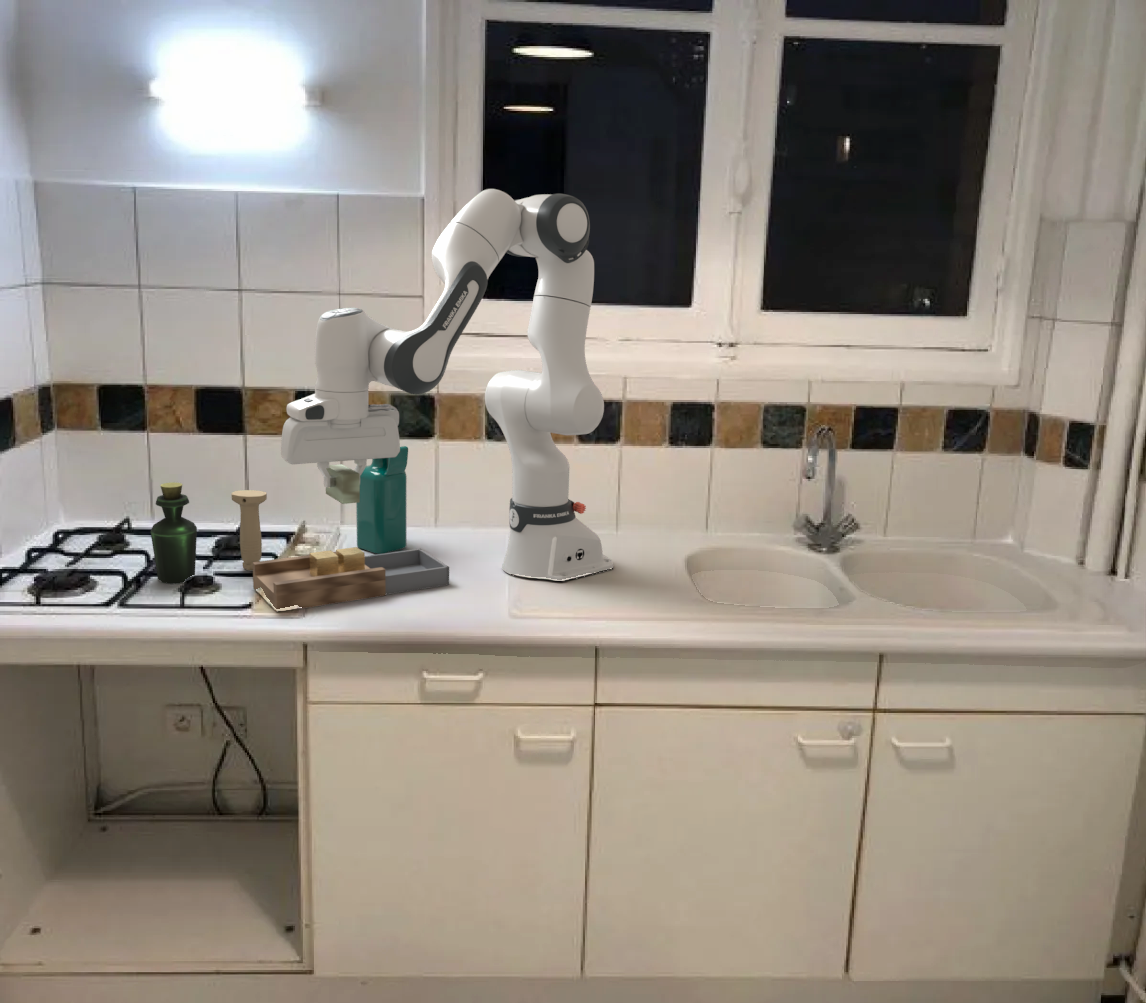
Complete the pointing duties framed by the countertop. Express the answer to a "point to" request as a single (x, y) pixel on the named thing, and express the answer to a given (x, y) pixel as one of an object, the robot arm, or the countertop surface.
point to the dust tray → (409, 570)
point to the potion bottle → (174, 537)
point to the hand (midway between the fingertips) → (342, 485)
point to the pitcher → (383, 505)
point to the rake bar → (344, 484)
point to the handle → (250, 525)
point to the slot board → (314, 583)
